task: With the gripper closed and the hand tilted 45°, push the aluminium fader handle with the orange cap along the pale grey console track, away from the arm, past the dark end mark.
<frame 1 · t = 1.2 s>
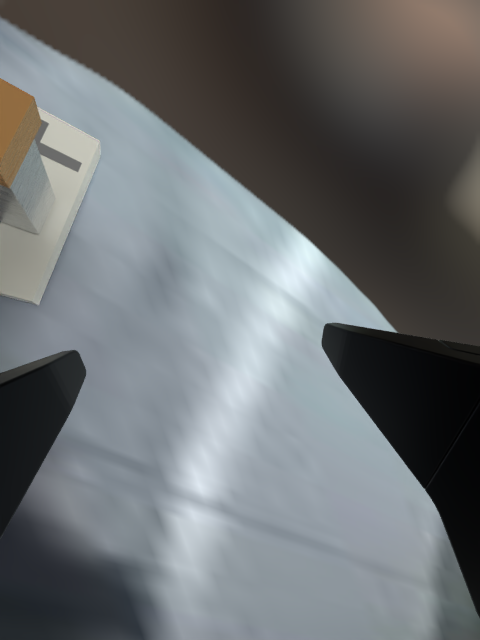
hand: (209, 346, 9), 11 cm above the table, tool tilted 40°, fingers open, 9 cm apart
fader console: (11, 213, 15), on the table
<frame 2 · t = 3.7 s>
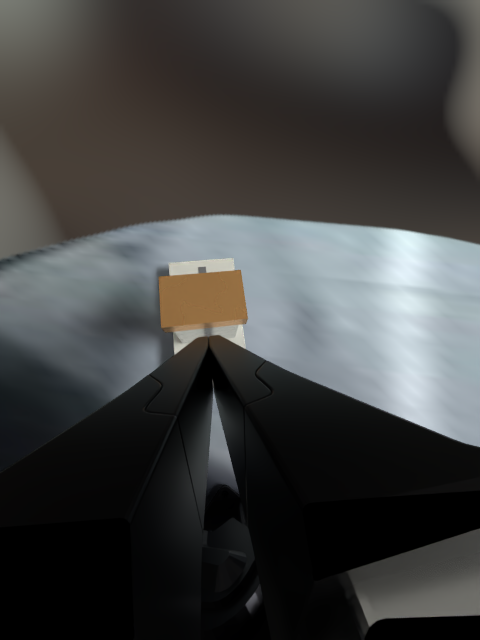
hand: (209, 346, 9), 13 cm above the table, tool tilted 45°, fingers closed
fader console: (208, 331, 23), on the table
fader handle: (205, 314, 18), point 5 cm above the table, slide at 0.0 cm
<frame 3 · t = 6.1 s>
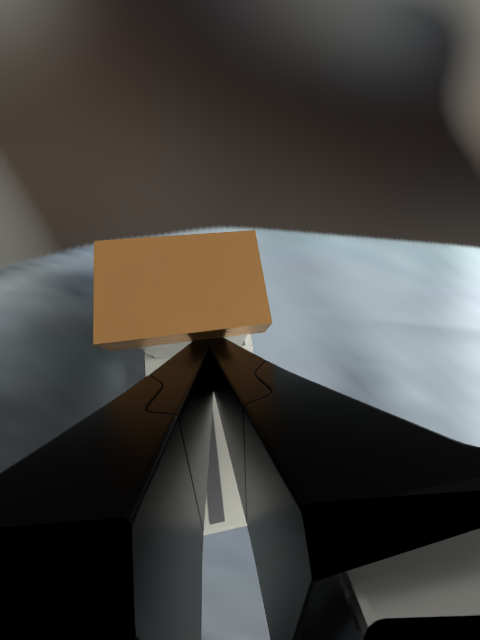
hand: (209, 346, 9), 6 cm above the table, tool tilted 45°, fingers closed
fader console: (207, 416, 14), on the table
fader handle: (192, 314, 11), point 5 cm above the table, slide at 4.7 cm, touching gripper
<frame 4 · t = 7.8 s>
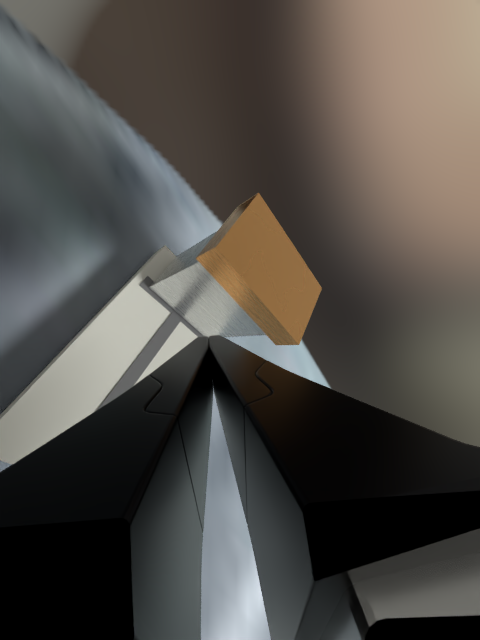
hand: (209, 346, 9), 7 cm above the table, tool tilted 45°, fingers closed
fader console: (125, 370, 13), on the table
fader handle: (226, 288, 12), point 5 cm above the table, slide at 5.1 cm
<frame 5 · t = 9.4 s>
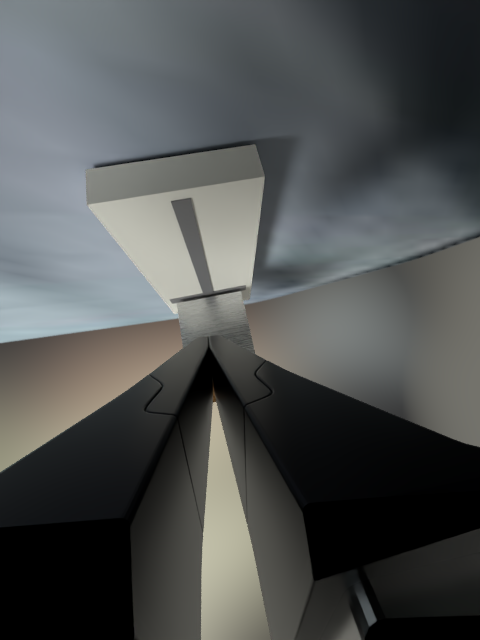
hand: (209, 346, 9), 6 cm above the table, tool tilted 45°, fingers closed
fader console: (195, 241, 13), on the table
fader handle: (219, 348, 17), point 5 cm above the table, slide at 5.1 cm
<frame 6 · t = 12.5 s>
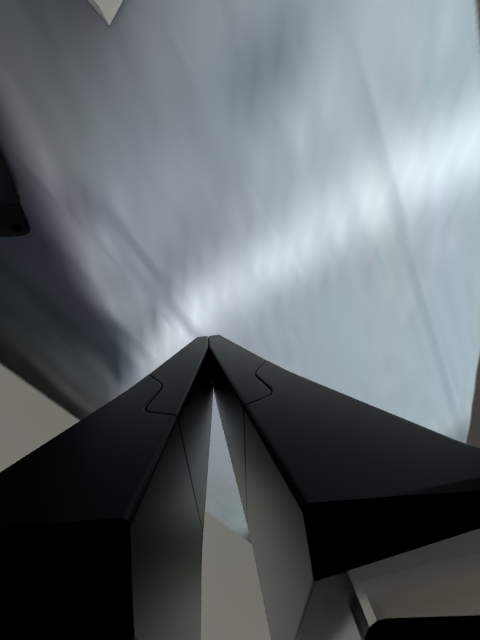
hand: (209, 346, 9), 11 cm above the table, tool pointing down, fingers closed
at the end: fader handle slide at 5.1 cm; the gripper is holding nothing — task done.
